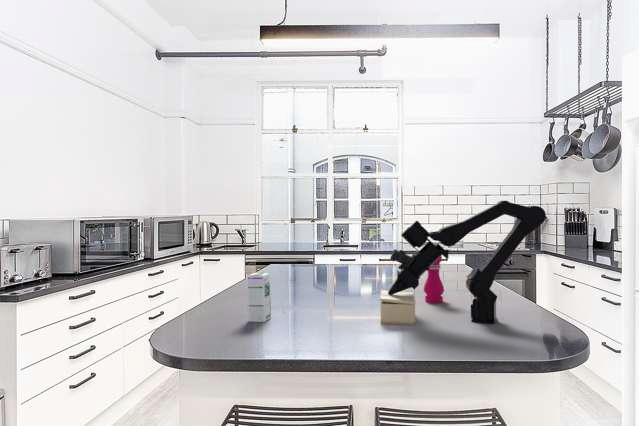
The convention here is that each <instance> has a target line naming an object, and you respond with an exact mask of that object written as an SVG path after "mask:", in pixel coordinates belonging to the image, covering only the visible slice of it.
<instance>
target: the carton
mask: <svg viewBox="0 0 639 426" xmlns="http://www.w3.org/2000/svg"><path fill="white" fill-rule="evenodd" d="M380 325H397V326H398V325H400V326H401V325H404V326H405V325H406V326H408V325H410V326H411V325H412V326H415V325H416V303H415V304H405V303H394V302H383V301H380Z"/></svg>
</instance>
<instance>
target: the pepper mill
mask: <svg viewBox="0 0 639 426" xmlns="http://www.w3.org/2000/svg"><path fill="white" fill-rule="evenodd" d="M442 256H443V255H442ZM442 256H441V257H440V258H439V259H438V260H437V261H436V262H435V263H434V264H433V265H432V266H430V267H429V268H430V269H429V270H428V271H427V276H426V277H427V278H426V280H425V283H424V286H423V292H424V293H425V294H426V295H425V297H424V299H425V303H428V304H429V303H430V304H440V303H443V301H444V298H443V296H442V295H443V293H444V292H445V288H444V284H443V282H442V280H441V276H440V269H441V262H442V260H443V257H442Z"/></svg>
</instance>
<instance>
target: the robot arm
mask: <svg viewBox="0 0 639 426" xmlns="http://www.w3.org/2000/svg"><path fill="white" fill-rule="evenodd" d="M504 215H506V216H509V217H513V218H515V221H514V224H513V226H512V229H511V230H510V231H509V232H508V234H507V235H506V236H505V238H504V239H503V241H501V243H500V244H499V246H498V247H497V248H496V249H495V250H494V252H493V253H492V254H491V255H490V257H489V258H488V259H487V260H486V262H485V263H484V264H483V265H482V266H481V267H479V268H478V267H476V266H473V268H472V270H471V271H470V273H468V274H467V275H466V281H465V288H466V289H467V291H468V292H469V293H471V295H472V296H473V299H472V303H471V304H470V318H471V320H470V321H471V322H476V323H484V324H495V323H496V322H497V321H498V317H497V299H498V295H497V294H495V293H494V291H492V290H491V288H492V286H493V283H494V281H495V278H496V275H497V274H498V272H499V271H500V270H501V268H502V267H503V266H504V264H505V263H506V262H507V261H508V259H510V257H511V255H512V254H513V253H514V252H515V250H516V249H517V248H518V247H519V245H520V244H521V243H522V242H523V241H524V240H525V238H526V237H527V236H528V235H530V234H531V233H532V232H534V231H535V230H537V229H538V228H539V227H540V226H541V225H542V224H543V223H544V222H545V221H546V218H547V214H546V211H545V210H544V208H542V207H541V206H539V205H527V206H526V205H521V204H517V203H513V202H510V201H508V200H499V201H498V202H497V203H495V204H493V205H492V206H490V207H488V208H485V209H483V210H481V211H480V212H478V213H476V214H474V215H472V216H470V217H469V218H466V219H465V220H462V221H459V222H456V223H453V224H449V225H446V226H443V227H441V228H439V229H438V231H428V230H427V229H426V228H424V226H422V224H421V223H420V222H419V221H418V220H415V222H413V223H412V224H411V225H409V226H408V227H407V228H406V229H405V230H404V231H403V232H402V233H401V235H400V236H401V237H402V238H403V240H405V241H406V242H407V243H408V244H409V245H410V247H413V249H415V248H416V247H417V248H418V249H420V248H421V249H420V250H418V252H417V253H413V254H412V255H410V254H407V253H406V251H404V250H402V249H400V250H398V249H395V248H394V249H393V251H392V253H391V256H390V260H392V261H394V262H397V263H399V265H398V266H397V268H398V269H399V270H400V271H399V270H397V272H396V273H397V276H396V279H395V280H394V282H393V284H392V285H391V286H390V289H389V290H387V291H388V294H389V295H393V294H395V293H398V292H404V291H405V290H408V289H413V290H416V288H417V287H418V286H420V282H419V280H420V279H421V277H422V275H423V274H425V272H428V270H429V269H430V268H429V267H430V266H432V265H433V264H434V263H435V262H436V261H437V260H438V259H439V258H440V257H441V256H443V257H444V258H445V259H446V260H448V259H450V257H449V252H450V250H449V249H445V248H444V247H442V245H443V246H445V247H453V246H455V245H457V243H459V242H460V241H461V240H463V239H464V238H465V237H466V236H467V235H468V234H469V233H471V232H473V231H475V230H477V229H479V228H481V227H483V226H485V225H486V224H489V223H490V222H493V221H494V220H496V219H498V218H500V217H501V216H504ZM429 238H430V239H431V240H432V241H436V242H438V243H436V244H434V242H432V241H431V240H430V239H429ZM425 243H426V244H425ZM440 244H441V245H440ZM423 245H424V246H423Z"/></svg>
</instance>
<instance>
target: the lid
mask: <svg viewBox="0 0 639 426" xmlns="http://www.w3.org/2000/svg"><path fill="white" fill-rule="evenodd" d="M388 291H389V290H385V289H381V290H380V297H379V302H381V301H383V302H394V303H405V304H415V305H416V299H415V296H414V293H413V292H409V291H408V292H407V291H400V292H398V293H395V294H393V295H389V294H388Z"/></svg>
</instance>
